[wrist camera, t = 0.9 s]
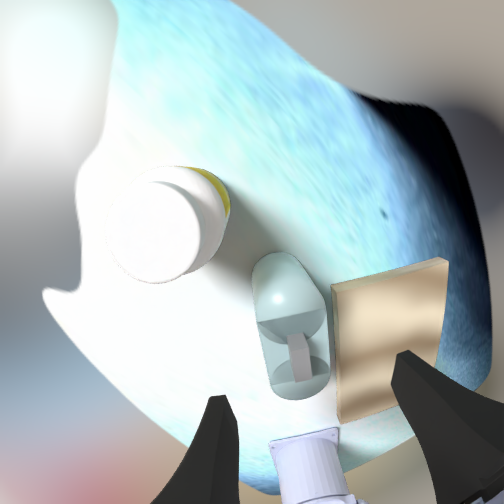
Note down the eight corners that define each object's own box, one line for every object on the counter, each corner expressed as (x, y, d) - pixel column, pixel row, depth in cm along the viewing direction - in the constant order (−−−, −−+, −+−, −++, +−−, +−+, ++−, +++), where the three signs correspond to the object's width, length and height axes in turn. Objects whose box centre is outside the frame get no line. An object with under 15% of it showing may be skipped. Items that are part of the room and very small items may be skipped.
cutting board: (422, 384, 26) (428, 392, 24) (337, 415, 26) (340, 424, 24) (438, 256, 22) (448, 261, 20) (330, 284, 22) (336, 292, 20)
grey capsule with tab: (312, 346, 23) (337, 407, 16) (267, 356, 23) (277, 421, 16) (300, 247, 21) (331, 286, 13) (246, 257, 21) (250, 303, 13)
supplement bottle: (163, 162, 19) (99, 154, 9) (238, 175, 19) (236, 175, 10) (151, 235, 20) (88, 284, 11) (222, 250, 21) (209, 313, 11)
